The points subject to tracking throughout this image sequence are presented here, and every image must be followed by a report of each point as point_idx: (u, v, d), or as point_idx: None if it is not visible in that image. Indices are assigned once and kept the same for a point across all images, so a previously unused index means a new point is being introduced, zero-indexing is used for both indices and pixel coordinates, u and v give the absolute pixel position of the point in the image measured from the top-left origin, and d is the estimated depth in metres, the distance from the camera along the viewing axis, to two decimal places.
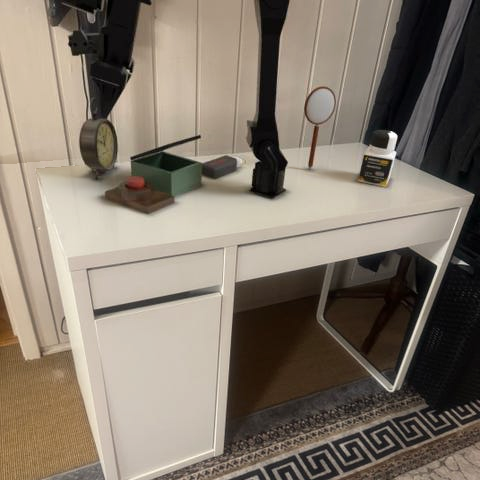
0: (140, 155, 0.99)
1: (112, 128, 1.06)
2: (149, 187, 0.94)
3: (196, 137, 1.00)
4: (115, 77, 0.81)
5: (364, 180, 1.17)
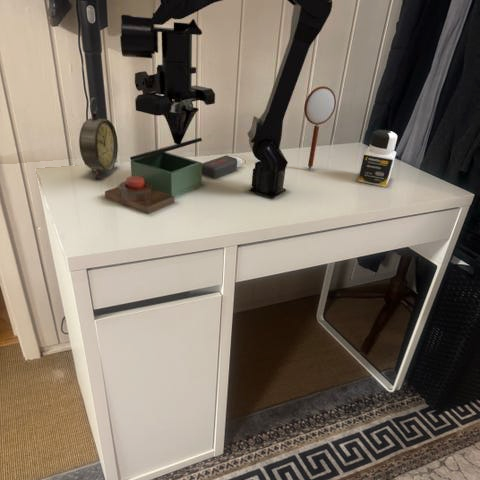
0: (140, 156, 0.99)
1: (112, 128, 1.06)
2: (149, 187, 0.94)
3: (197, 140, 1.00)
4: (150, 108, 0.87)
5: (364, 180, 1.17)
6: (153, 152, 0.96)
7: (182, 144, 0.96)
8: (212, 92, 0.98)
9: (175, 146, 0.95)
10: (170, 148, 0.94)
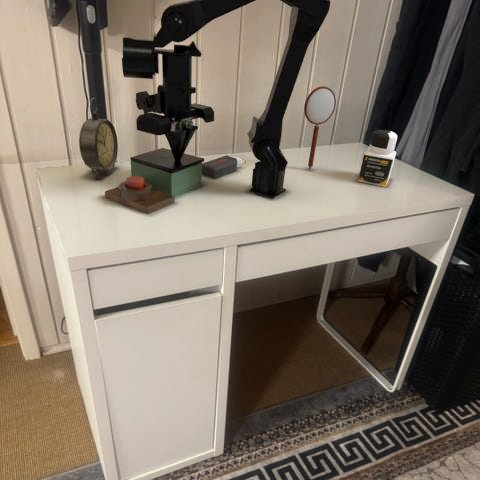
0: (141, 162, 0.99)
1: (112, 128, 1.06)
2: (149, 187, 0.94)
3: (200, 161, 1.02)
4: (151, 128, 0.89)
5: (364, 180, 1.17)
6: (155, 165, 0.98)
7: (185, 166, 0.99)
8: (211, 110, 1.00)
9: (179, 168, 0.97)
10: (174, 170, 0.96)
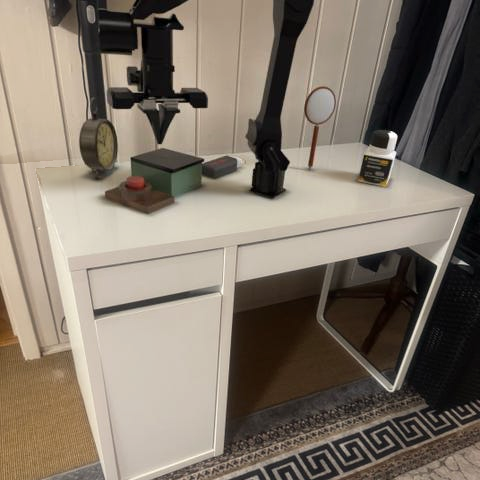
0: (141, 162, 0.99)
1: (112, 128, 1.06)
2: (149, 187, 0.94)
3: (200, 161, 1.02)
4: (111, 100, 0.85)
5: (364, 180, 1.17)
6: (155, 165, 0.98)
7: (185, 166, 0.99)
8: (203, 96, 0.90)
9: (179, 168, 0.97)
10: (174, 170, 0.96)
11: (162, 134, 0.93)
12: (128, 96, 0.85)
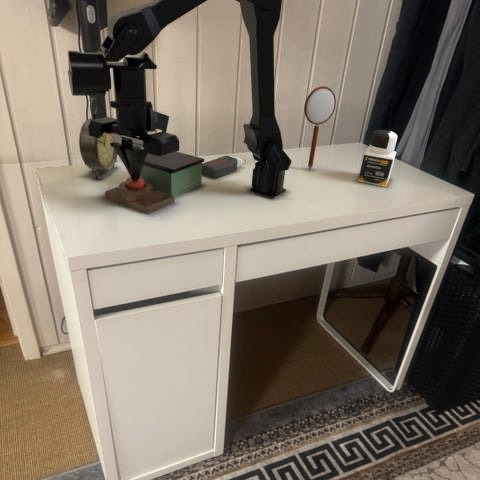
0: None
1: None
2: (149, 187, 0.94)
3: (200, 161, 1.02)
4: None
5: (364, 180, 1.17)
6: (155, 165, 0.98)
7: (185, 166, 0.99)
8: (155, 142, 0.83)
9: (179, 168, 0.97)
10: (174, 170, 0.96)
11: (131, 171, 0.91)
12: (97, 126, 0.89)
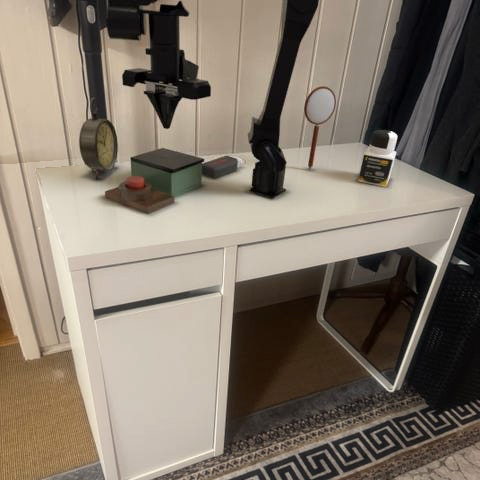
0: (141, 162, 0.99)
1: (112, 128, 1.06)
2: (149, 187, 0.94)
3: (200, 161, 1.02)
4: None
5: (364, 180, 1.17)
6: (155, 165, 0.98)
7: (185, 166, 0.99)
8: (190, 86, 0.87)
9: (179, 168, 0.97)
10: (174, 170, 0.96)
11: (163, 118, 0.96)
12: (131, 75, 0.93)
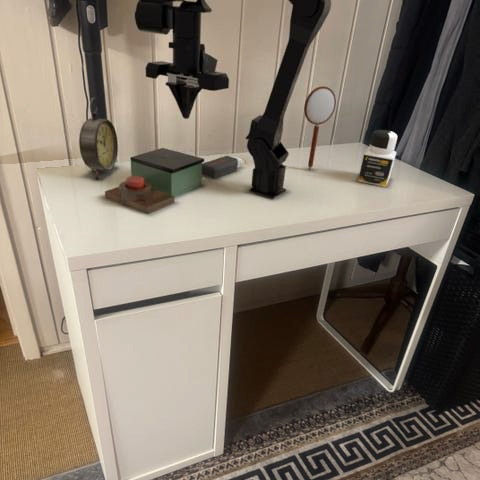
0: (141, 162, 0.99)
1: (112, 128, 1.06)
2: (149, 187, 0.94)
3: (200, 161, 1.02)
4: None
5: (364, 180, 1.17)
6: (155, 165, 0.98)
7: (185, 166, 0.99)
8: (210, 78, 0.93)
9: (179, 168, 0.97)
10: (174, 170, 0.96)
11: (183, 109, 1.02)
12: (154, 67, 0.99)
